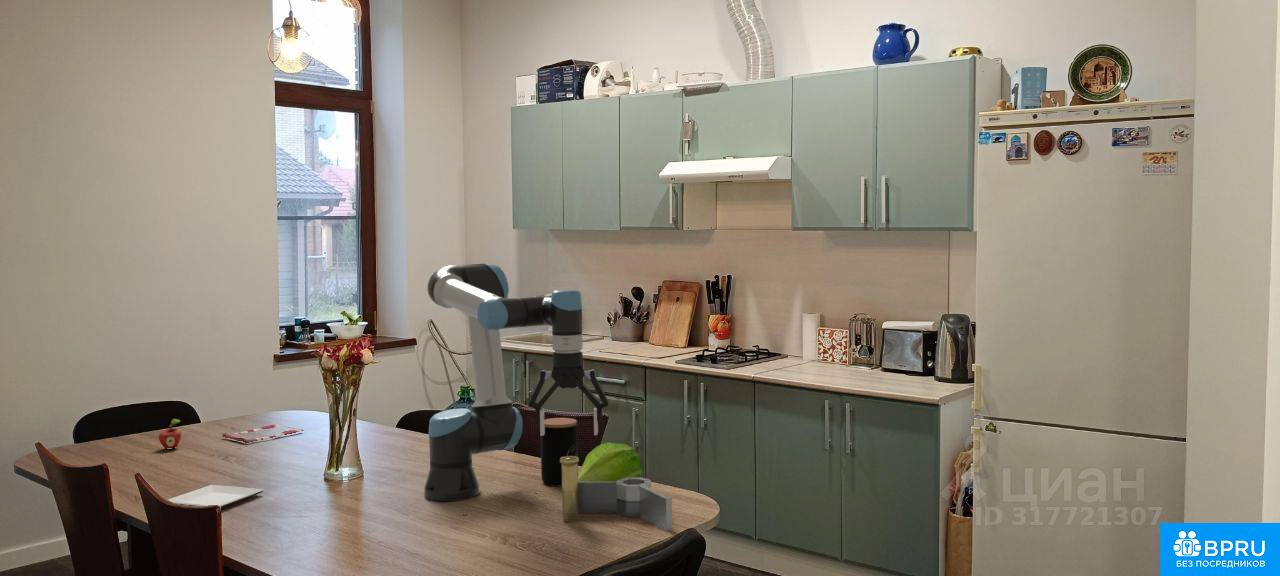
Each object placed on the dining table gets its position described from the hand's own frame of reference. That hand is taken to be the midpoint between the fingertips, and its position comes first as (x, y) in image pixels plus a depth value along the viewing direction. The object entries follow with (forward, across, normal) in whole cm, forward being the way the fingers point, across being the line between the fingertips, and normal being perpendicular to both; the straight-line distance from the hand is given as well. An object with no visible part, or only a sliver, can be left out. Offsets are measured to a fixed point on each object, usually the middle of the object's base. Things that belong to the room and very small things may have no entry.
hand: (569, 434), depth 251 cm
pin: (+22, 0, 0) cm, 22 cm away
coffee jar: (+22, -7, +38) cm, 45 cm away
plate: (+22, -101, +19) cm, 105 cm away
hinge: (+22, +12, +1) cm, 25 cm away
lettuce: (+22, +8, +25) cm, 34 cm away
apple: (+22, -147, +85) cm, 171 cm away
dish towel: (+22, -123, +105) cm, 163 cm away
